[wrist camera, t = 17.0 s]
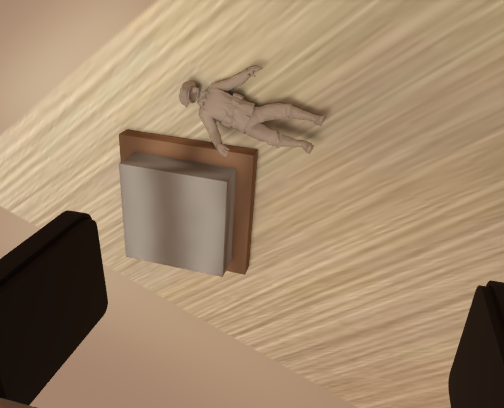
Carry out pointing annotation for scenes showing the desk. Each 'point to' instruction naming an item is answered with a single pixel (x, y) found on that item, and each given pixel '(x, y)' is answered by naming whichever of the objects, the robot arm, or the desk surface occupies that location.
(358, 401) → the desk surface
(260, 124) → the soldier figure
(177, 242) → the tower pedestal
